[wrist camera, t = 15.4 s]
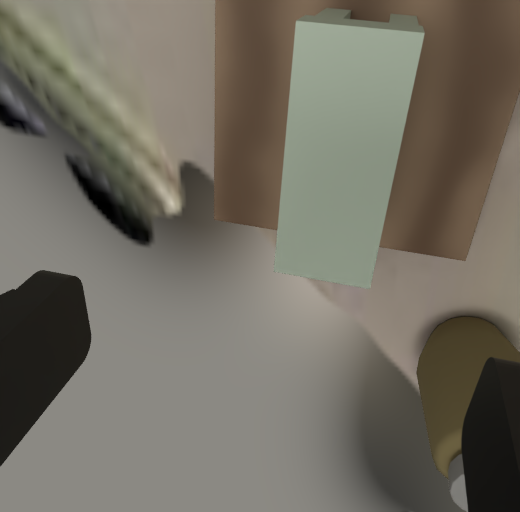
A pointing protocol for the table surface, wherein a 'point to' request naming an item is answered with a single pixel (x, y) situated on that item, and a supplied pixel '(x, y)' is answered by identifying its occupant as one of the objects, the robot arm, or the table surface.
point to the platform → (417, 122)
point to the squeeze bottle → (455, 388)
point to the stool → (343, 142)
